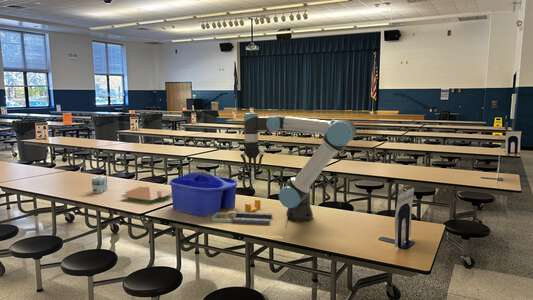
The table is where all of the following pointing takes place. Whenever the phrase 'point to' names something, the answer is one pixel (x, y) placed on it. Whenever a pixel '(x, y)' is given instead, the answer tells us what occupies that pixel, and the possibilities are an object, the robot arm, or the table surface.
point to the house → (147, 194)
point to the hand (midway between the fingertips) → (253, 183)
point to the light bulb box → (99, 184)
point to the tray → (219, 218)
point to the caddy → (202, 193)
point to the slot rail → (252, 218)
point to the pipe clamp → (255, 207)
